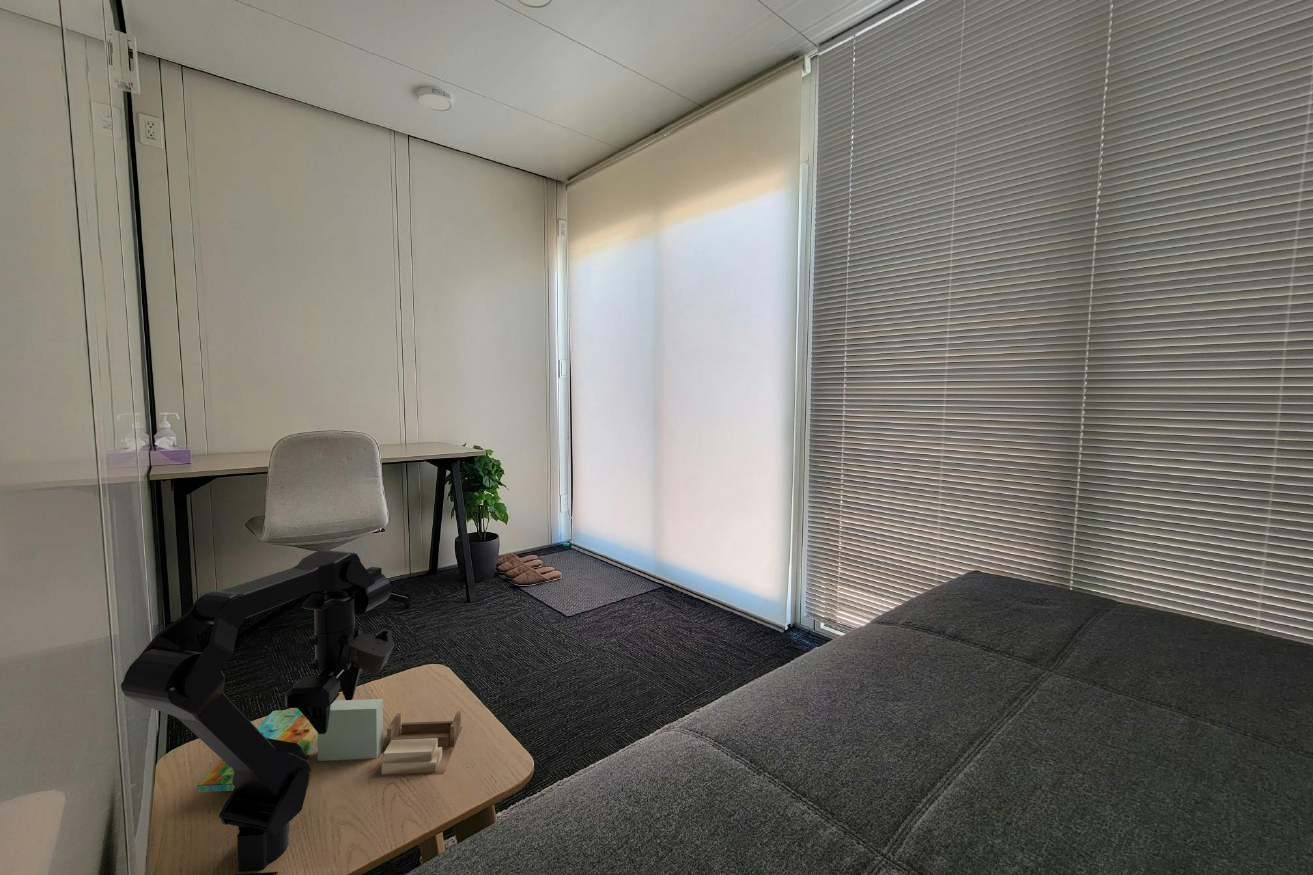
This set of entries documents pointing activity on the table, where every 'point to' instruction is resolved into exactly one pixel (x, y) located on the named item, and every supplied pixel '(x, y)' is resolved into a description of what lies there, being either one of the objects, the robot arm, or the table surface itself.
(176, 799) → the table surface
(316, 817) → the table surface
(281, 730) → the puzzle game
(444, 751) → the rack
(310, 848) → the table surface
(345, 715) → the board
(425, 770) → the offcut stack
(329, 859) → the table surface
